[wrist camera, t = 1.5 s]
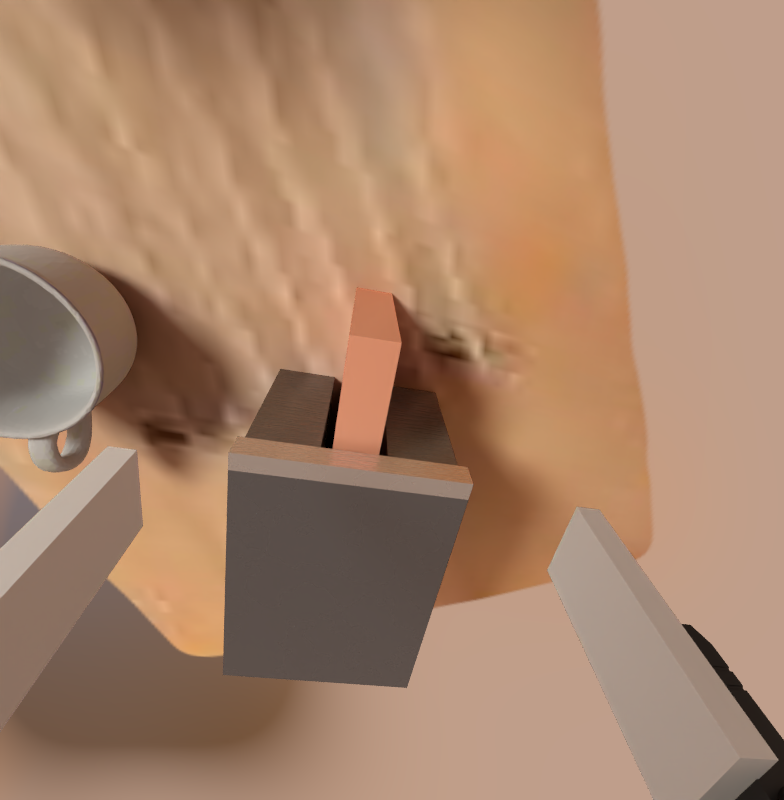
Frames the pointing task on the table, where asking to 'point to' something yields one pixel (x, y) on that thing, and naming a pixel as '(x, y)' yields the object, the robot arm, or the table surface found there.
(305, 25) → the table surface
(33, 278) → the teacup
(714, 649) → the robot arm
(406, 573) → the block
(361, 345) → the salmon orange rectangular slab
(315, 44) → the table surface
